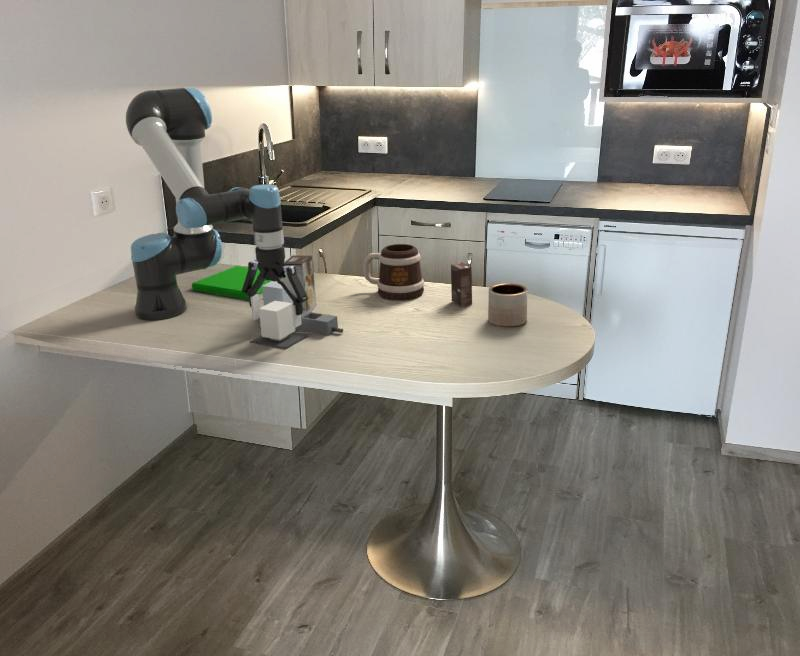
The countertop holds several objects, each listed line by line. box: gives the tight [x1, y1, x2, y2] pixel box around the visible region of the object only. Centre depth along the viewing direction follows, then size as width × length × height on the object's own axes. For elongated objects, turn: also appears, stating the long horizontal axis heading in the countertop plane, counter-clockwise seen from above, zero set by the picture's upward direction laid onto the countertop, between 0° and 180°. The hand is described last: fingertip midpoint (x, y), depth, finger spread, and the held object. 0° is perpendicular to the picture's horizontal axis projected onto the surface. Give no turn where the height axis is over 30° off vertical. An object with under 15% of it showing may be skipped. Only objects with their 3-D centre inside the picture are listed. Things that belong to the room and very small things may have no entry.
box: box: [450, 261, 473, 308], centre depth 216 cm, size 6×4×12 cm
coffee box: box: [284, 255, 317, 312], centre depth 215 cm, size 9×6×16 cm
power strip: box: [257, 311, 344, 336], centre depth 204 cm, size 27×5×4 cm, turn 62°
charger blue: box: [262, 281, 294, 306], centre depth 205 cm, size 7×6×9 cm
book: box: [191, 265, 283, 301], centre depth 243 cm, size 22×28×3 cm
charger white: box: [259, 301, 296, 341], centre depth 195 cm, size 7×6×9 cm
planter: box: [487, 282, 528, 328], centre depth 202 cm, size 11×11×10 cm
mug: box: [362, 243, 425, 301], centre depth 228 cm, size 20×15×15 cm
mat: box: [249, 331, 309, 350], centre depth 196 cm, size 12×10×1 cm
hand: (277, 322), depth 195 cm, fingers open, 13 cm apart
